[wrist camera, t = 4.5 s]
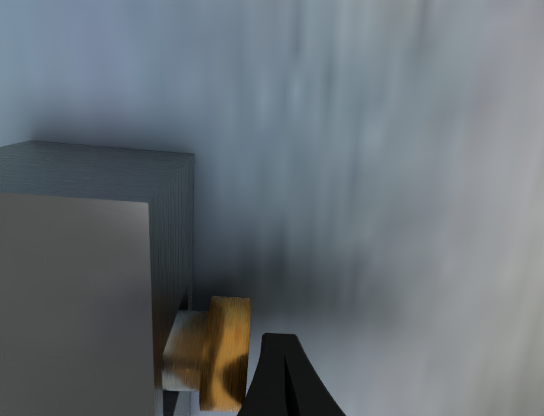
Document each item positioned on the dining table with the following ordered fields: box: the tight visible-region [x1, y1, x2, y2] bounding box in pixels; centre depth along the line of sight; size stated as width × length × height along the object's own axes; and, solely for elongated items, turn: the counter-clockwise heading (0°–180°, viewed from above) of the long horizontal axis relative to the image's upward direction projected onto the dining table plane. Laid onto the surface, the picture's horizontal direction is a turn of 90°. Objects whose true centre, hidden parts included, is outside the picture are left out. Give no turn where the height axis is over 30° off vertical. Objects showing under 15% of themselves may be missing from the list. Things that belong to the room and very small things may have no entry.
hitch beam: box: [0, 141, 194, 416], centre depth 12 cm, size 6×14×6 cm, turn 175°
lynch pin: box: [162, 296, 251, 412], centre depth 12 cm, size 12×4×4 cm, turn 85°
